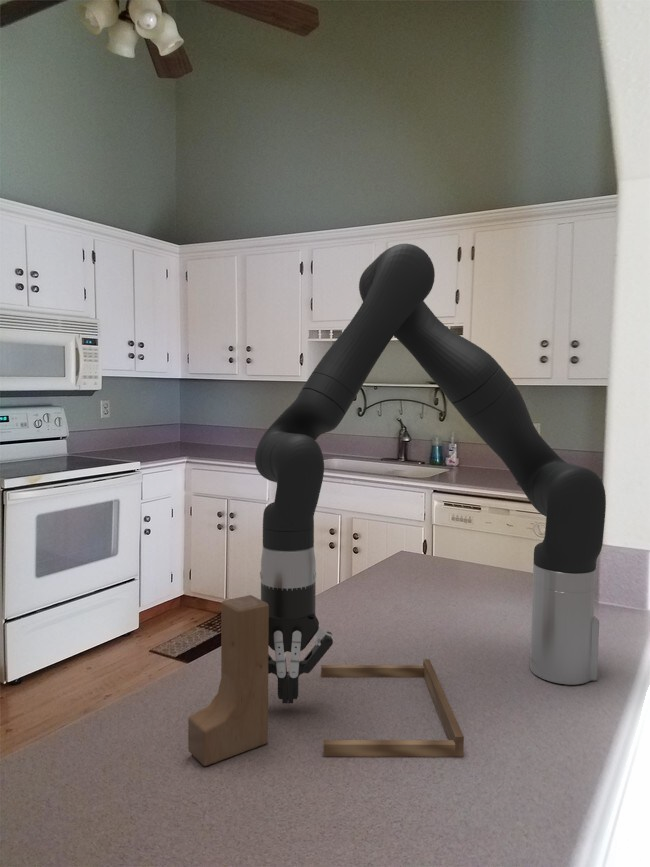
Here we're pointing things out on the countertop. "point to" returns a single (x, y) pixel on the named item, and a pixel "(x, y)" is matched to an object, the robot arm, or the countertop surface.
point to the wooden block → (236, 686)
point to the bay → (400, 747)
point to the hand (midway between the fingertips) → (287, 700)
